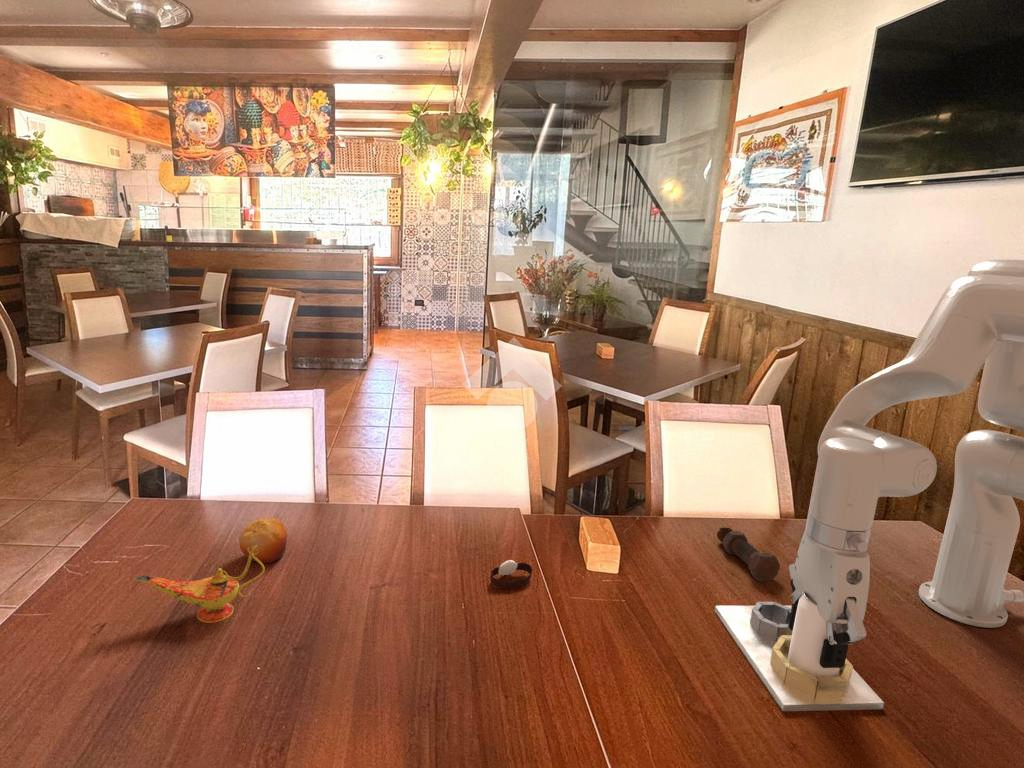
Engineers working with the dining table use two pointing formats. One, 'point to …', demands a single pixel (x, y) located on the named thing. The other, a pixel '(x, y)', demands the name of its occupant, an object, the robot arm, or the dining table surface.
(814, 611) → the can
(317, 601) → the dining table surface
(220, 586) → the magic lamp
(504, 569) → the watch
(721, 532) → the bolt
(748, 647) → the plate
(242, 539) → the fruit
